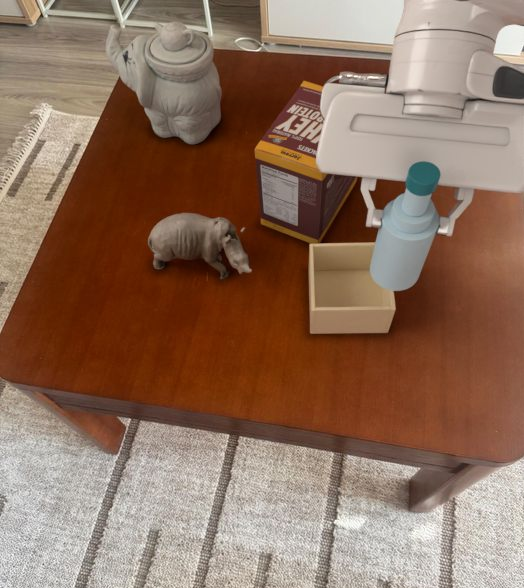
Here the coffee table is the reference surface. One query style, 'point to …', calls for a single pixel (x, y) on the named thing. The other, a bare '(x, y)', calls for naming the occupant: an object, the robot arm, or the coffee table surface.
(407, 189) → the bottle
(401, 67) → the robot arm
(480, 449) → the coffee table surface
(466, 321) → the coffee table surface
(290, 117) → the supplement box
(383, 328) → the open box
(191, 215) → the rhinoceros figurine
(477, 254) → the coffee table surface
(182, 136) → the teapot
